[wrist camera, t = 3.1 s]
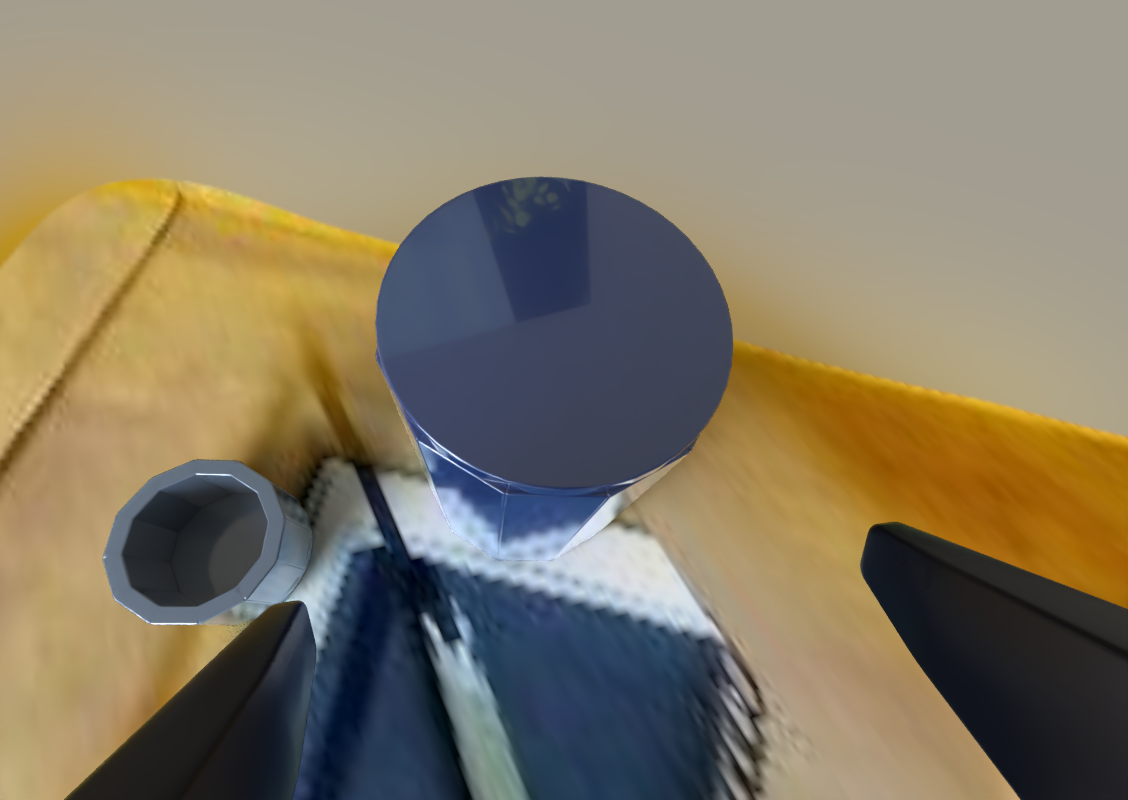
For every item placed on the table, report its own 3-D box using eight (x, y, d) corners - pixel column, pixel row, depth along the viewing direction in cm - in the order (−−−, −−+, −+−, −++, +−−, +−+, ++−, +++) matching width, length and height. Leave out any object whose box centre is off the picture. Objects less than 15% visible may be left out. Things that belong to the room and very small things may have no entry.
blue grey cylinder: (560, 600, 19) (638, 570, 9) (391, 494, 20) (290, 357, 10) (648, 437, 22) (783, 277, 12) (498, 349, 23) (506, 127, 13)
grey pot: (245, 654, 17) (199, 659, 15) (130, 575, 18) (64, 566, 15) (341, 527, 19) (316, 510, 16) (235, 459, 20) (194, 431, 17)
